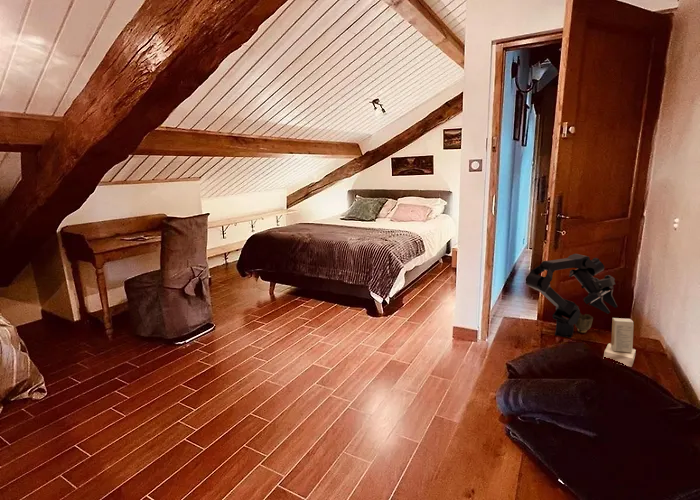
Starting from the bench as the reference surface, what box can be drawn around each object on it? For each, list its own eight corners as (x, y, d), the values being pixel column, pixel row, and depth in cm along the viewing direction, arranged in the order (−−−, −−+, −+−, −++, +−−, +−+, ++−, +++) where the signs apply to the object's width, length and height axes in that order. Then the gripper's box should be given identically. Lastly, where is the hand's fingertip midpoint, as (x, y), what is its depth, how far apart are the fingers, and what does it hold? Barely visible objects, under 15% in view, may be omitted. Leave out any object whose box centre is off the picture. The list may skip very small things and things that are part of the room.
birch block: (603, 360, 152) (604, 351, 151) (607, 352, 159) (608, 343, 158) (631, 368, 146) (632, 358, 145) (634, 359, 153) (635, 349, 152)
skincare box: (629, 348, 152) (631, 318, 151) (632, 352, 148) (635, 321, 147) (609, 346, 155) (611, 317, 153) (612, 350, 151) (615, 320, 149)
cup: (591, 330, 178) (593, 314, 176) (591, 337, 172) (593, 320, 170) (573, 327, 182) (574, 311, 180) (572, 333, 176) (573, 317, 174)
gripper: (594, 274, 160) (623, 306, 154) (610, 265, 172) (637, 295, 166) (572, 288, 168) (598, 319, 162) (588, 279, 179) (613, 308, 173)
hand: (612, 310), depth 165 cm, fingers open, 9 cm apart
